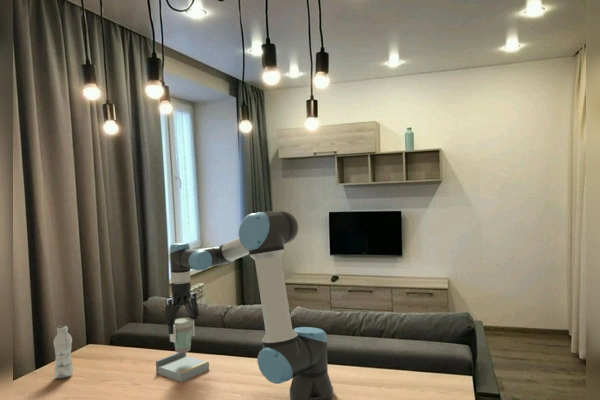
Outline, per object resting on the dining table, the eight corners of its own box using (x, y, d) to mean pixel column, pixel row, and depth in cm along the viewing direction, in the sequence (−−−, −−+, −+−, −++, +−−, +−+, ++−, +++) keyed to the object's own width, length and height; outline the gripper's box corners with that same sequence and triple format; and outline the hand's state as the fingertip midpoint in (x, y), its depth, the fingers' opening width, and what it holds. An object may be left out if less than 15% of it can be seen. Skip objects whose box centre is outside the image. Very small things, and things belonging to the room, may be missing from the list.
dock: (209, 369, 179) (208, 357, 179) (181, 382, 168) (180, 368, 168) (184, 361, 188) (183, 350, 188) (156, 373, 177) (155, 360, 177)
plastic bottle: (50, 379, 175) (48, 328, 174) (66, 372, 181) (64, 323, 180) (61, 381, 172) (59, 330, 171) (77, 375, 178) (75, 325, 177)
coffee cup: (188, 354, 173) (187, 324, 173) (167, 353, 175) (166, 323, 174) (197, 347, 181) (196, 317, 181) (178, 346, 183) (177, 317, 183)
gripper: (195, 276, 188) (196, 329, 189) (152, 285, 171) (154, 344, 171) (207, 278, 184) (209, 332, 184) (164, 288, 166) (166, 348, 167)
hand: (182, 338), depth 178 cm, fingers closed on coffee cup, 8 cm apart
